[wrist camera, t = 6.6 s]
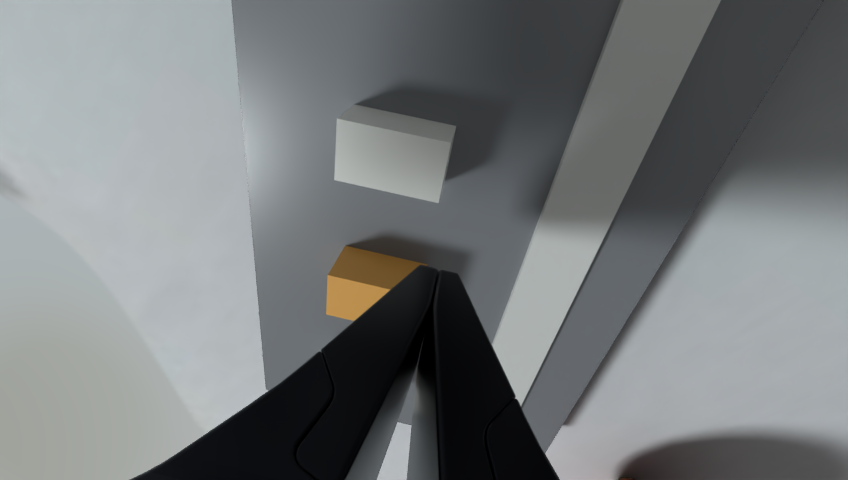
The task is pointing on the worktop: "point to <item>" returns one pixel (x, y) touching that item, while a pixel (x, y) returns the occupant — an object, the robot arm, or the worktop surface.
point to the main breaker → (362, 280)
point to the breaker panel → (493, 158)
